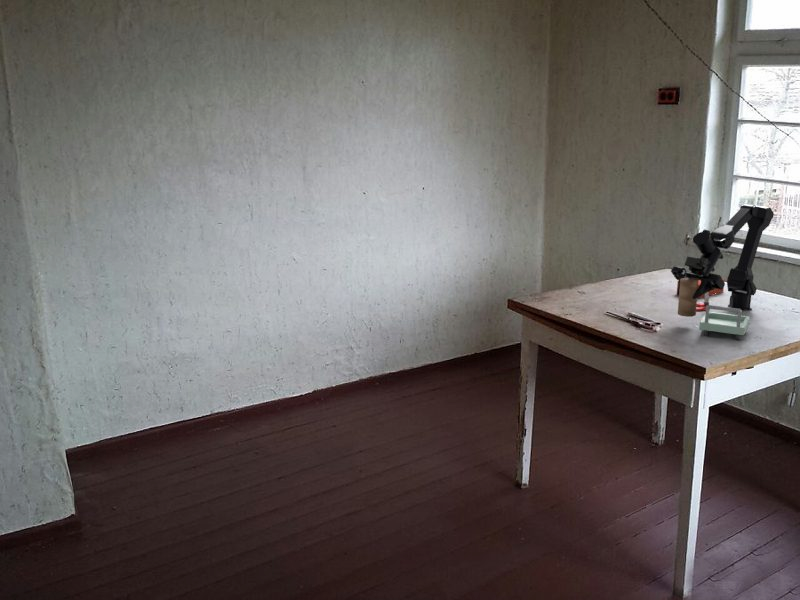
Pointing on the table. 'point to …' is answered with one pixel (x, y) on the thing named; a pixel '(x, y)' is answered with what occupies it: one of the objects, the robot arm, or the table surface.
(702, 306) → the tow hook
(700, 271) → the robot arm
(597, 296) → the table surface
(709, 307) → the parts cart
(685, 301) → the brown cylinder
